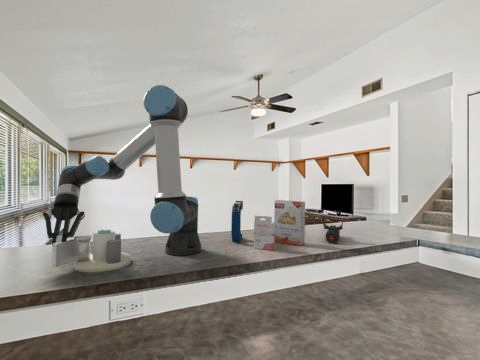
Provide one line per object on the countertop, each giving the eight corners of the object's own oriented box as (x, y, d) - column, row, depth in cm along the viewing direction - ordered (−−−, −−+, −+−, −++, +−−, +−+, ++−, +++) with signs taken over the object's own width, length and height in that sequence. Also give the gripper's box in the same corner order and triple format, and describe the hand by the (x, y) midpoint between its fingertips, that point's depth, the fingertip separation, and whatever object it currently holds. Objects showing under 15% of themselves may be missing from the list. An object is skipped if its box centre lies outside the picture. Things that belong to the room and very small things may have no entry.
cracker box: (273, 242, 136) (274, 200, 136) (278, 240, 141) (279, 199, 141) (300, 246, 128) (300, 201, 128) (304, 244, 133) (305, 201, 133)
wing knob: (83, 257, 97) (84, 234, 97) (94, 258, 95) (95, 235, 95) (48, 267, 85) (48, 241, 85) (59, 269, 83) (60, 243, 83)
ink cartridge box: (274, 247, 124) (275, 215, 124) (271, 250, 119) (272, 216, 120) (256, 246, 127) (257, 214, 127) (253, 248, 123) (253, 215, 123)
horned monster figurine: (343, 237, 153) (343, 219, 153) (342, 245, 132) (342, 224, 132) (325, 235, 156) (325, 218, 156) (321, 243, 135) (321, 223, 135)
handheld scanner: (243, 237, 146) (243, 200, 147) (240, 244, 130) (240, 203, 131) (234, 237, 147) (234, 200, 147) (231, 243, 131) (230, 202, 131)
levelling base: (130, 255, 108) (130, 224, 108) (132, 268, 92) (132, 231, 92) (77, 259, 101) (78, 226, 101) (69, 275, 84) (70, 235, 84)
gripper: (87, 205, 108) (81, 259, 92) (48, 205, 102) (34, 263, 87) (86, 192, 103) (79, 247, 88) (44, 192, 97) (29, 250, 82)
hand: (57, 255), depth 87 cm, fingers closed
